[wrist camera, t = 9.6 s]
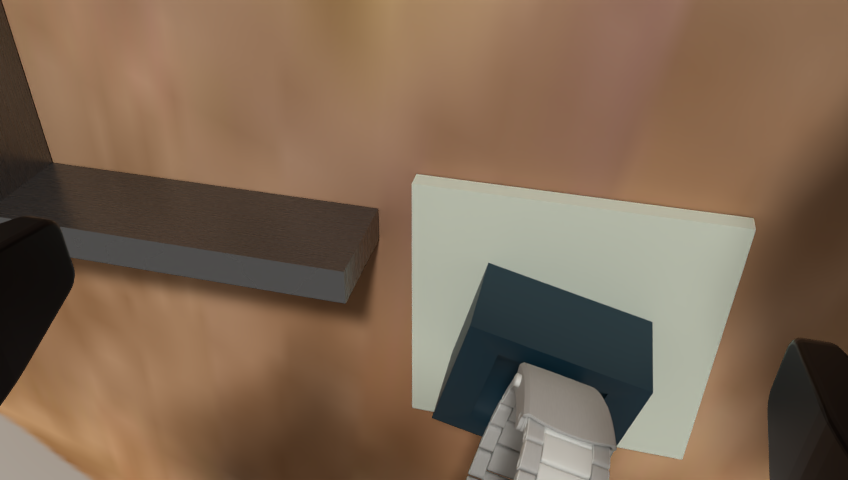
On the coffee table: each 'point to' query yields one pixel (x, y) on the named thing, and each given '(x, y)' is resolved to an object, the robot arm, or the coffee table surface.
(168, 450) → the coffee table surface
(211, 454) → the coffee table surface
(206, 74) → the coffee table surface
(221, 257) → the grey u-shaped piece
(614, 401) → the watch
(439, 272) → the pad
